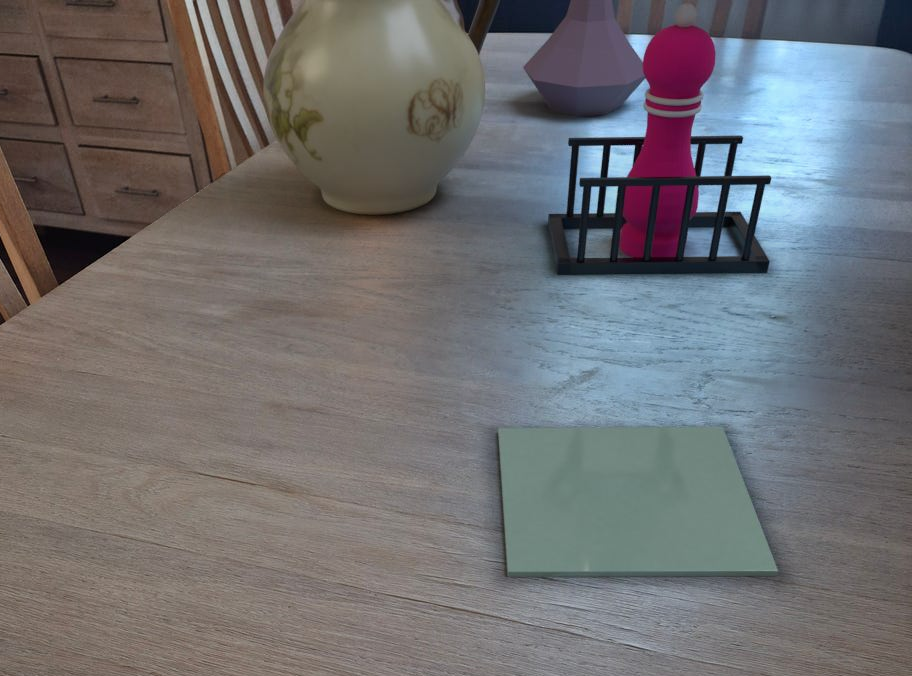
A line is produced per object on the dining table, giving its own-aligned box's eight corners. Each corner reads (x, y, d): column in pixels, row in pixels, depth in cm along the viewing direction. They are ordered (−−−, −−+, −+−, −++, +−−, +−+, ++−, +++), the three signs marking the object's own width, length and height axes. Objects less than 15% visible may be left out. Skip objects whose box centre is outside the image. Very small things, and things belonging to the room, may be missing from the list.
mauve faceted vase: (593, 83, 134) (609, -96, 120) (672, 111, 123) (699, -81, 110) (496, 102, 128) (501, -84, 114) (570, 133, 117) (585, -66, 104)
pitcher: (243, 223, 98) (198, -78, 81) (322, 151, 114) (299, -113, 97) (453, 243, 93) (453, -72, 76) (504, 165, 110) (514, -110, 92)
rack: (738, 223, 96) (756, 134, 90) (766, 274, 87) (789, 178, 81) (547, 225, 96) (553, 136, 91) (557, 276, 88) (564, 181, 82)
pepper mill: (606, 258, 90) (634, 10, 76) (622, 230, 95) (651, -8, 81) (683, 268, 88) (726, 15, 74) (695, 239, 93) (737, -4, 79)
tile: (721, 432, 68) (722, 426, 68) (776, 577, 57) (778, 570, 56) (497, 434, 68) (498, 427, 68) (507, 578, 57) (507, 571, 57)
